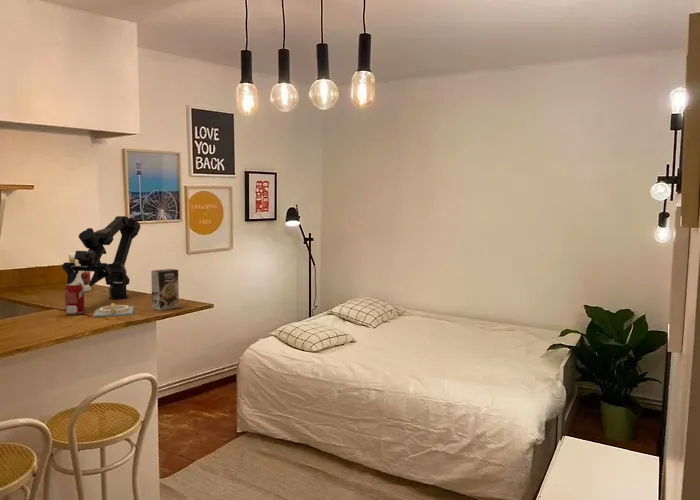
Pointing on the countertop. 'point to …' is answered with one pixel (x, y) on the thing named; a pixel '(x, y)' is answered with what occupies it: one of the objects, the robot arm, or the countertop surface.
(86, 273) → the juice carton
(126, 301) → the countertop surface
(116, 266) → the robot arm
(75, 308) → the soda can
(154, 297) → the cookie box
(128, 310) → the flange board
